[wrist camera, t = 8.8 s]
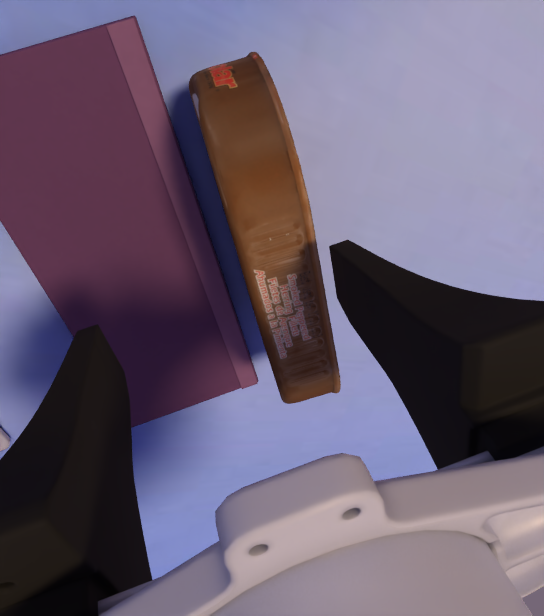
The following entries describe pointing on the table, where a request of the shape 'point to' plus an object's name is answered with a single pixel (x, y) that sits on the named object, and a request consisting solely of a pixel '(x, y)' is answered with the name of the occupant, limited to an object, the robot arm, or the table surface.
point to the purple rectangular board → (116, 216)
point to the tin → (269, 221)
